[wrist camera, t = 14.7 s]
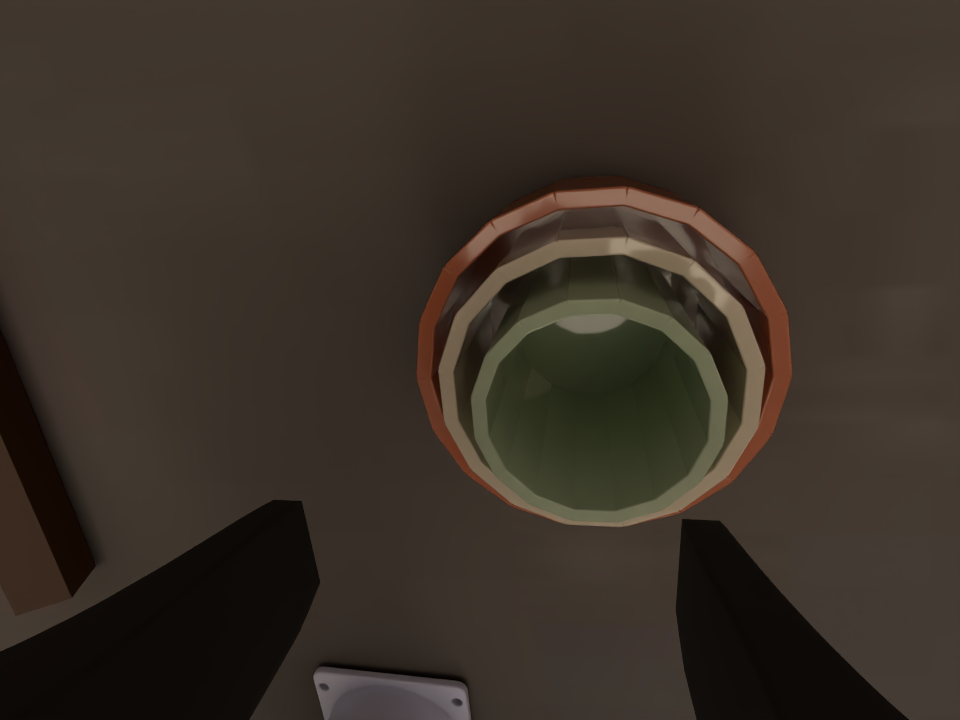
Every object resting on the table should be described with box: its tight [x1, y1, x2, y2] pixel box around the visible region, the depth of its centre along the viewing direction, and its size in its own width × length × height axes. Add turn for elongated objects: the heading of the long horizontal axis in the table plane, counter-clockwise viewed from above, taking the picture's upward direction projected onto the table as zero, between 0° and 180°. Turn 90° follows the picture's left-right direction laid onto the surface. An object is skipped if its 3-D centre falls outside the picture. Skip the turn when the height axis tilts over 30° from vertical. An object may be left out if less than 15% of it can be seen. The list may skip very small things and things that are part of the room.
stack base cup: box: [417, 176, 792, 527], centre depth 16 cm, size 10×10×5 cm
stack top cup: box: [438, 208, 766, 527], centre depth 16 cm, size 8×8×6 cm
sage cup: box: [471, 255, 728, 523], centre depth 15 cm, size 6×6×7 cm
